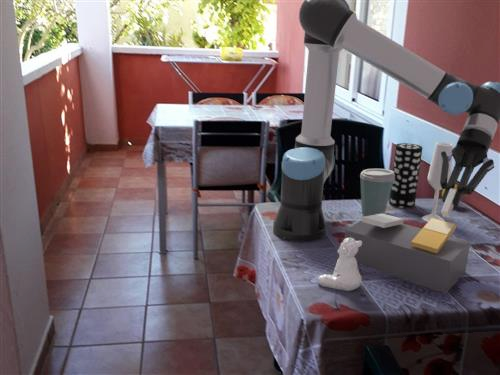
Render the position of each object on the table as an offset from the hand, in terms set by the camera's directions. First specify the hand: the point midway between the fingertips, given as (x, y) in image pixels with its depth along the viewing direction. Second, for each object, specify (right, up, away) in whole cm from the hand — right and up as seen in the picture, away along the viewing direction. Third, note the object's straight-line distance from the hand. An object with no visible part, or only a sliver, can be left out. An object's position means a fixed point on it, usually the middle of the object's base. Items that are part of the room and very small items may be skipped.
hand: (444, 214), depth 119 cm
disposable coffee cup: (-8, -3, +36) cm, 37 cm away
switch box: (-9, -13, +4) cm, 16 cm away
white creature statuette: (-26, -16, -6) cm, 31 cm away
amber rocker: (-4, -5, -3) cm, 7 cm away
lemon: (+20, 0, +48) cm, 52 cm away
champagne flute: (+10, -4, +35) cm, 36 cm away
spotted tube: (+4, +1, +47) cm, 48 cm away
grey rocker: (-14, -2, +5) cm, 15 cm away
